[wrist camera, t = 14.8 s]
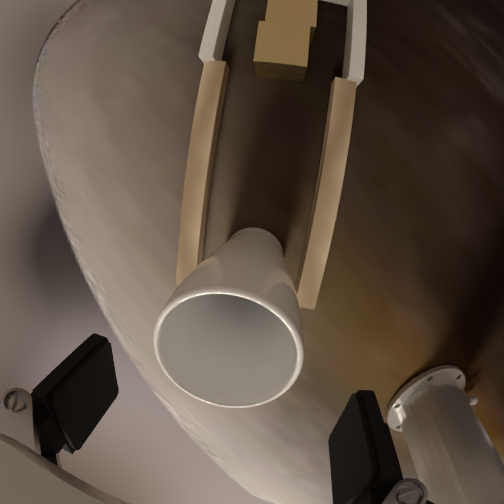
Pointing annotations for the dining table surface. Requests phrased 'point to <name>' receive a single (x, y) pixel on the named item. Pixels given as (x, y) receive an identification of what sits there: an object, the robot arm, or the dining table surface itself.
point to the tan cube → (293, 13)
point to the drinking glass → (234, 325)
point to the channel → (325, 191)
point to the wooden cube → (281, 50)
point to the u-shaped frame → (356, 3)
